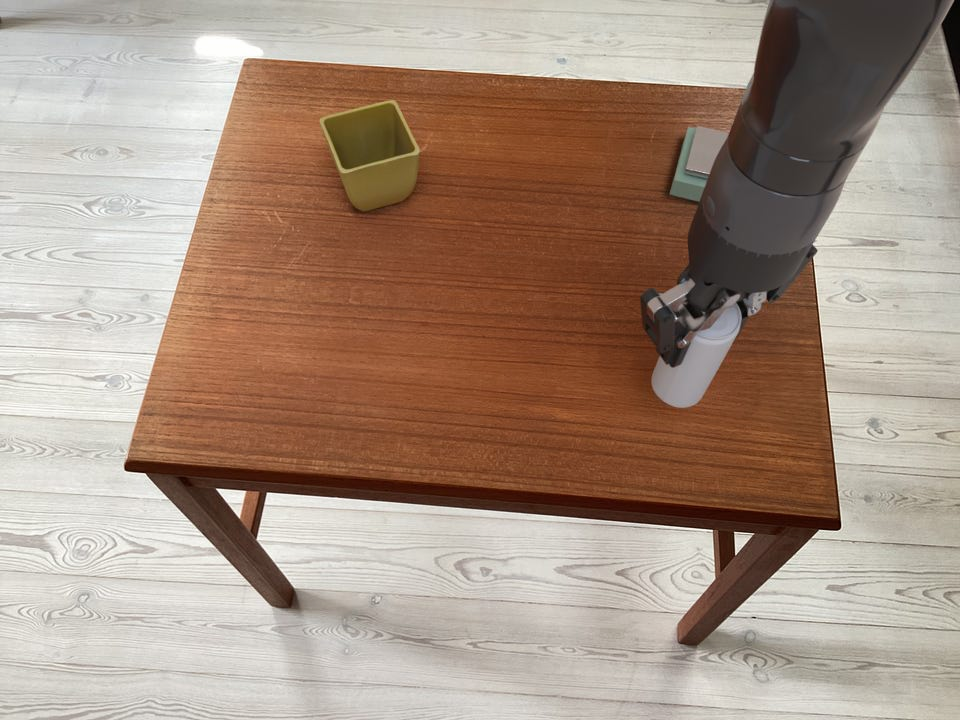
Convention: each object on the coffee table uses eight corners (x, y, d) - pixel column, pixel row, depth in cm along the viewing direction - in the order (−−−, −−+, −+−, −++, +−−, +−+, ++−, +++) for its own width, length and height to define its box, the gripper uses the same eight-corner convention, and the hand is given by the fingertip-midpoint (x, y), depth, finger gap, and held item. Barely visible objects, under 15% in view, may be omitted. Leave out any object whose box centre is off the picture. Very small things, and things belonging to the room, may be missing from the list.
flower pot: (401, 156, 93) (395, 97, 85) (425, 208, 89) (421, 151, 81) (331, 175, 91) (317, 117, 83) (352, 229, 87) (340, 173, 79)
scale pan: (756, 144, 90) (758, 139, 90) (747, 188, 87) (749, 183, 86) (695, 130, 91) (697, 125, 91) (684, 173, 88) (685, 168, 87)
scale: (756, 159, 93) (764, 142, 91) (745, 213, 89) (753, 197, 86) (683, 141, 94) (688, 125, 92) (669, 194, 90) (674, 178, 88)
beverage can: (689, 357, 71) (725, 280, 60) (713, 401, 68) (755, 330, 58) (641, 371, 70) (669, 296, 59) (664, 417, 67) (697, 347, 57)
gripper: (703, 290, 45) (648, 417, 59) (893, 205, 48) (796, 346, 63) (633, 202, 48) (597, 343, 63) (816, 128, 51) (740, 279, 66)
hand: (697, 344), depth 63 cm, fingers closed on beverage can, 5 cm apart
